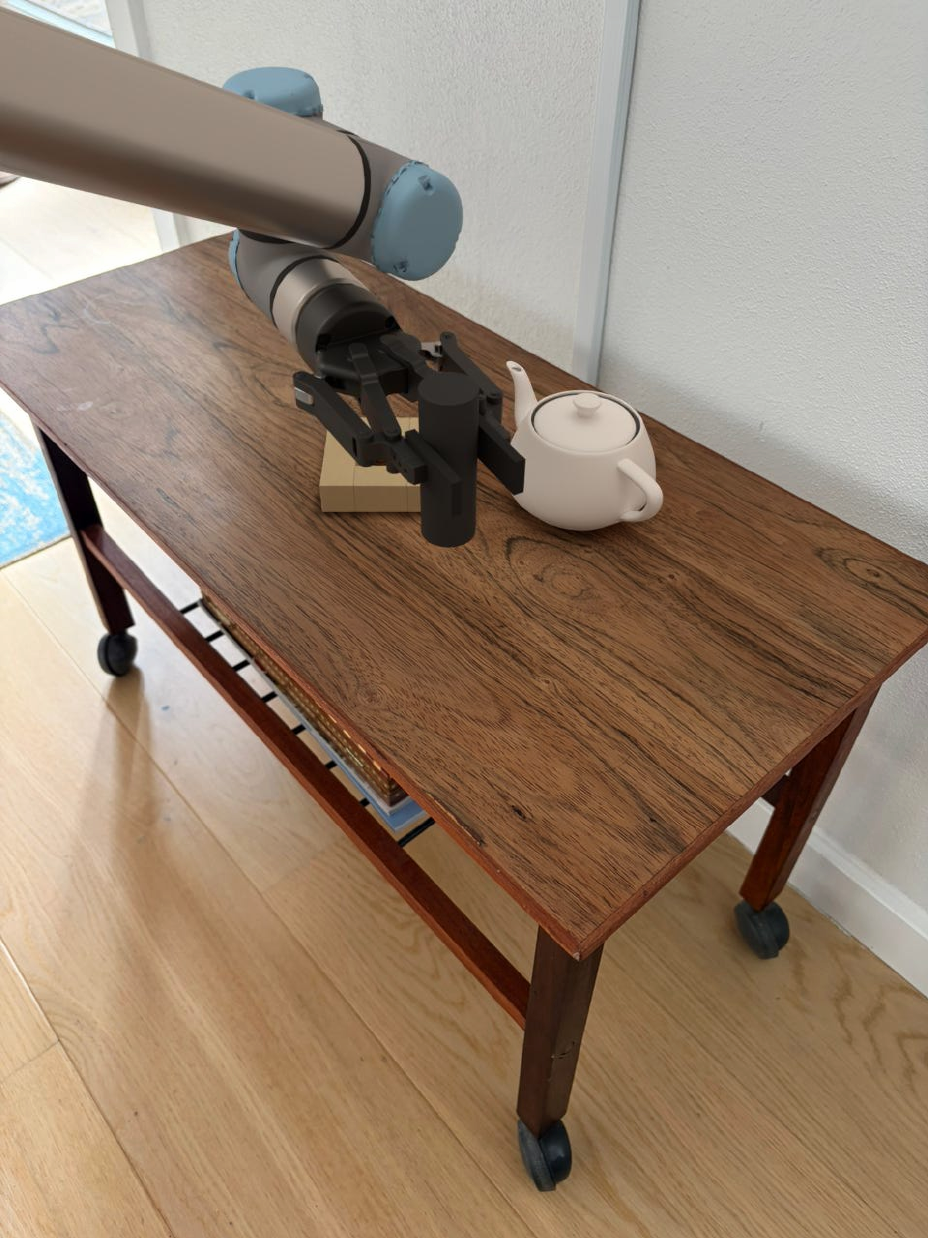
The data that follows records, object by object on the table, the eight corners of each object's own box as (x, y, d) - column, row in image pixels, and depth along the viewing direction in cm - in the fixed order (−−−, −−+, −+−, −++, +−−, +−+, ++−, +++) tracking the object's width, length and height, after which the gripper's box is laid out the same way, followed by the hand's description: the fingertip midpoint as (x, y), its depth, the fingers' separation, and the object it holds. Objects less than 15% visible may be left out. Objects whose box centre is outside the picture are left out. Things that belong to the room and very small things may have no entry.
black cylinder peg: (422, 549, 73) (419, 406, 65) (419, 514, 76) (415, 372, 67) (478, 546, 73) (482, 403, 65) (472, 511, 76) (475, 370, 68)
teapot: (707, 533, 91) (730, 432, 84) (586, 589, 86) (600, 487, 78) (559, 415, 104) (568, 319, 97) (446, 458, 99) (446, 359, 91)
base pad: (322, 511, 93) (319, 485, 91) (331, 442, 100) (329, 416, 98) (440, 512, 93) (440, 485, 91) (441, 442, 101) (441, 417, 99)
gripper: (433, 343, 86) (591, 494, 72) (242, 397, 80) (373, 573, 66) (432, 258, 81) (603, 403, 66) (227, 309, 75) (366, 480, 60)
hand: (488, 487), depth 66 cm, fingers closed on black cylinder peg, 4 cm apart
